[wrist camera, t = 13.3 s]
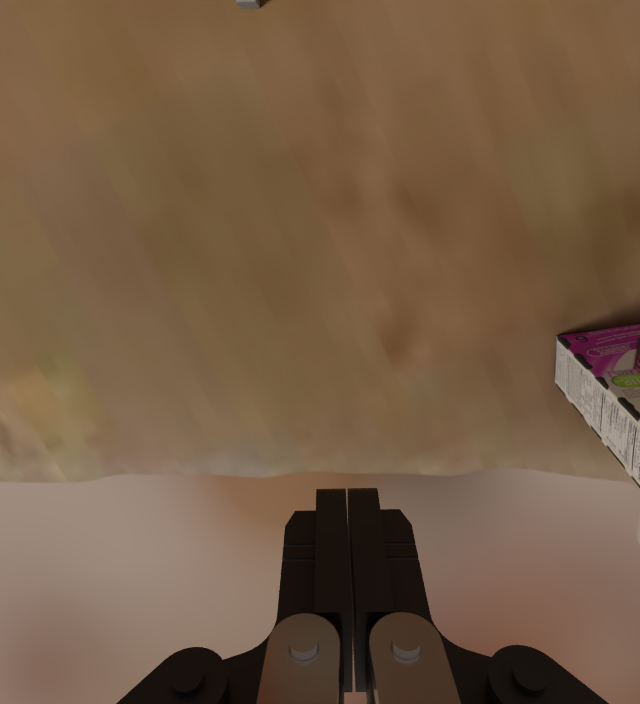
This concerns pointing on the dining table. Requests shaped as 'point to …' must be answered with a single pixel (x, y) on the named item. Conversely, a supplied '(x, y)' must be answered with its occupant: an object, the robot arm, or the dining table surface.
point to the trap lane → (248, 3)
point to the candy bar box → (605, 387)
